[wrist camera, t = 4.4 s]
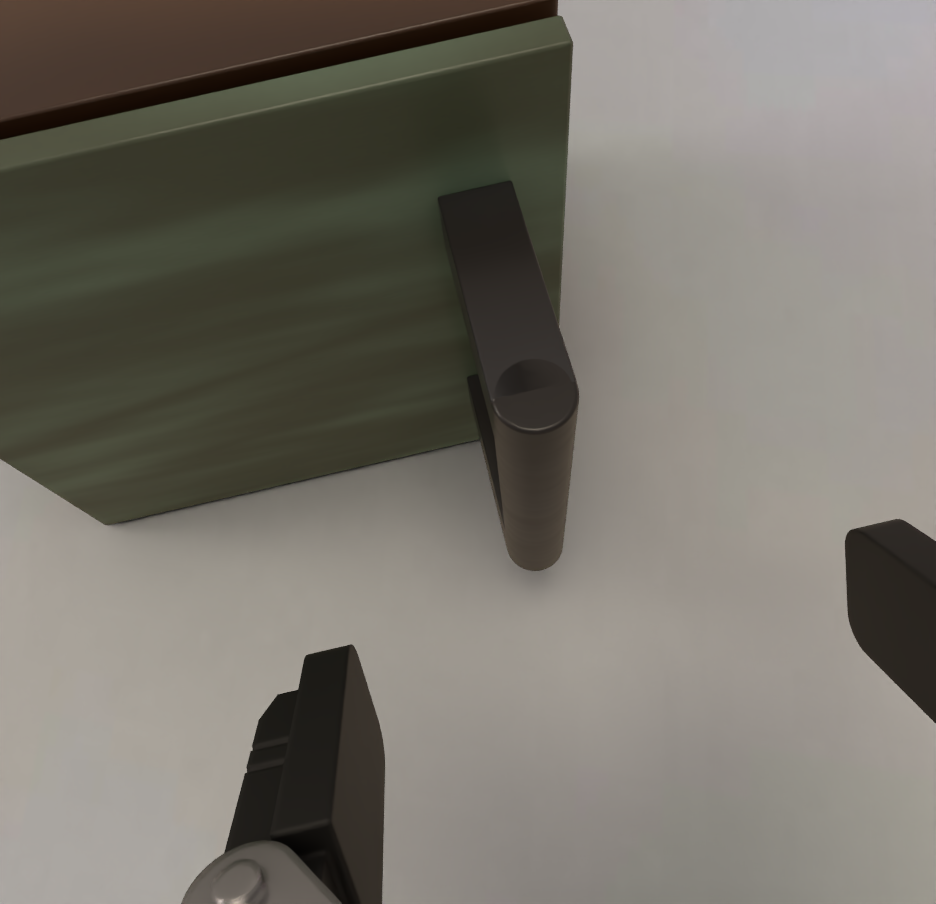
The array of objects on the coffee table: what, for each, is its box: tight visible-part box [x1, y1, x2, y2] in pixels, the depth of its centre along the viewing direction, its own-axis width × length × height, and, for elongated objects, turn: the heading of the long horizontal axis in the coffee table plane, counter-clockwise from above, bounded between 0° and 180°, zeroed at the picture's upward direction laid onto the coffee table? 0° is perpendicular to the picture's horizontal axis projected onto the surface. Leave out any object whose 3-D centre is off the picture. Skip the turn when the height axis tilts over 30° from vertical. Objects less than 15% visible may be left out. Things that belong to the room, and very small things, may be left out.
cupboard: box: [0, 0, 558, 140], centre depth 23 cm, size 12×16×15 cm
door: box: [0, 16, 579, 571], centre depth 19 cm, size 7×16×15 cm, turn 102°
